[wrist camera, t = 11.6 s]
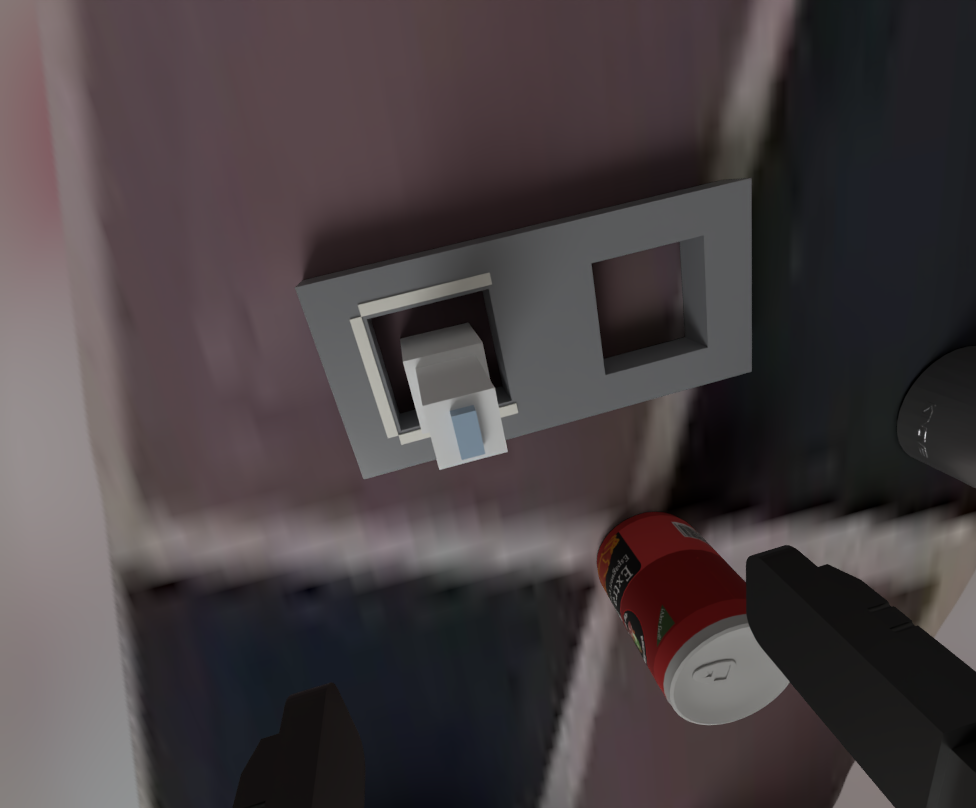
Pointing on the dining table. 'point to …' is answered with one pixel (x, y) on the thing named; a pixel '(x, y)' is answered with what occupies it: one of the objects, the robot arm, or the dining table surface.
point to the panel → (544, 317)
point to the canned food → (687, 619)
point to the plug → (454, 394)
